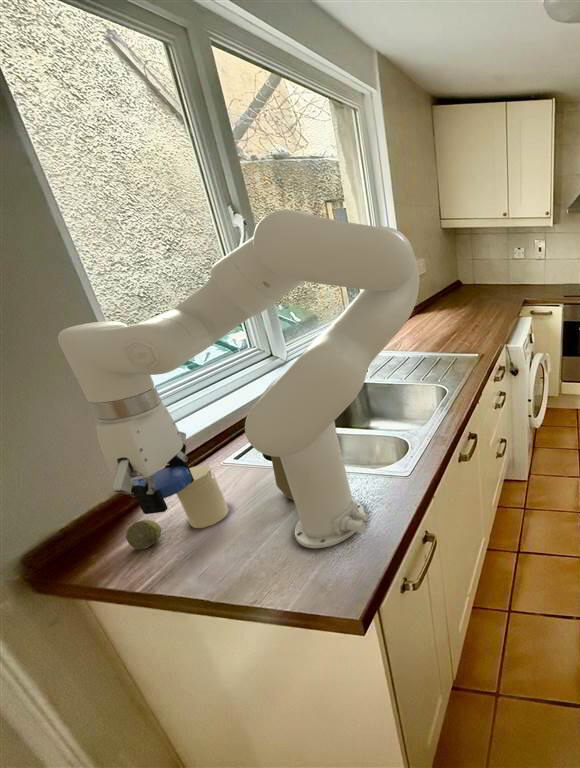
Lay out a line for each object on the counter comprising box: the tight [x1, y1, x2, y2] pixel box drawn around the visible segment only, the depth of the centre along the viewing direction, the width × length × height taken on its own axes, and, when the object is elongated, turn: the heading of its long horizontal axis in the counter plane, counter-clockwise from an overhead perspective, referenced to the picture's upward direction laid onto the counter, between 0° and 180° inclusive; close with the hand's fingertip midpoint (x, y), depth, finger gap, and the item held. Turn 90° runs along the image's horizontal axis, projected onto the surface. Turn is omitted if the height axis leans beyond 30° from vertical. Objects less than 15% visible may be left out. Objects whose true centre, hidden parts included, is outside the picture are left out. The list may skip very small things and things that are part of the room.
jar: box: [175, 465, 229, 529], centre depth 78 cm, size 6×6×11 cm
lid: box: [139, 466, 192, 500], centre depth 66 cm, size 7×7×2 cm
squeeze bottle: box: [270, 456, 294, 501], centre depth 83 cm, size 8×8×18 cm
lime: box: [125, 519, 162, 550], centre depth 73 cm, size 4×5×5 cm
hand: (170, 496), depth 67 cm, fingers closed on lid, 6 cm apart
